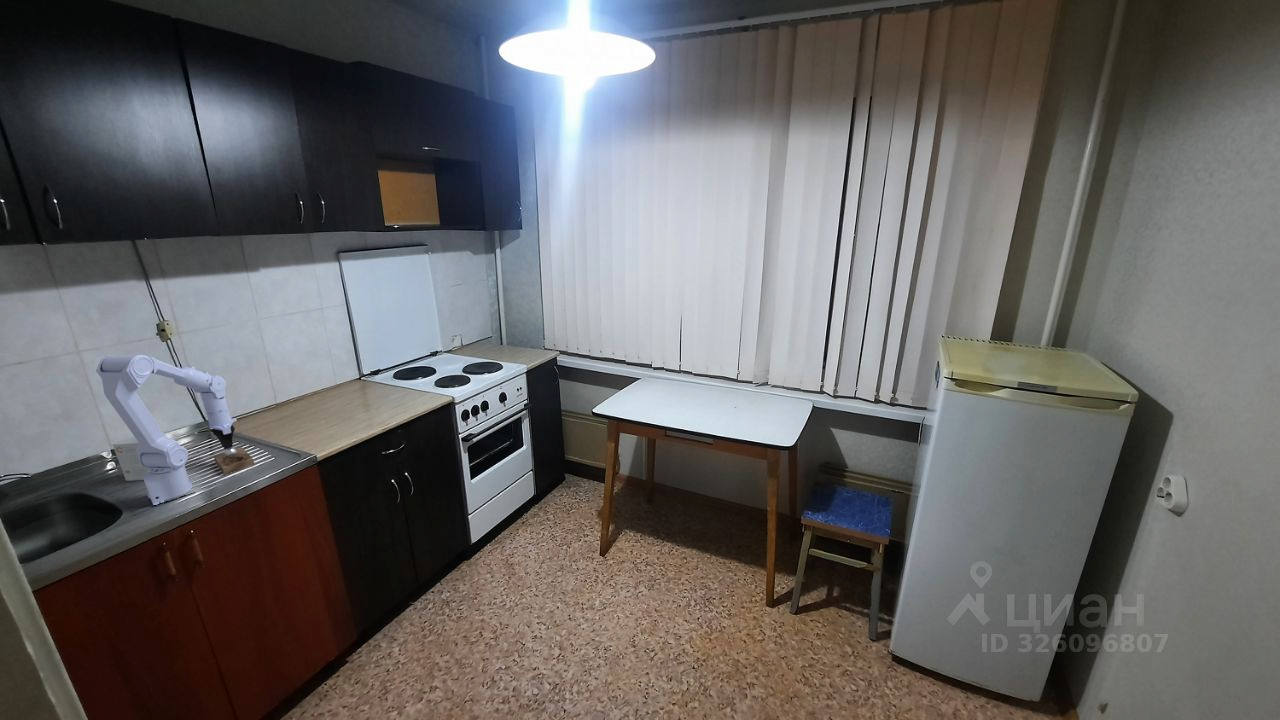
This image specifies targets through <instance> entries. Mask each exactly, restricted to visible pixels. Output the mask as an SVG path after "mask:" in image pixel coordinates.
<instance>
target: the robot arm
mask: <svg viewBox="0 0 1280 720" xmlns="http://www.w3.org/2000/svg"><path fill="white" fill-rule="evenodd" d="M95 372H96V374H98V376H99V377H100V379H101V382H102V388H103V394H104V396H105V398H106V399H107V401H109V403H110V404H111V406H112V407H113V408H114V410H115V411H116V413H117V415H118V416H119V417H120V418H121V420H122V421H123V422H124V424H125V425H126V427H127V428H128V429H129V431H130V432H131V434H132V436H135V438H136V439H137V441H138V442H139V443H140V445H139V446H138V448H137V449H136V452H137V454H138V456H139V462H140V464H141V465H142V466H143V467H147V468H148V471H151V472H149V473H147V474H144V475H142V477H143V480H142V481H143V482H144V484H145V487H146V489H147V492H146V495H147V498H148V499H150V501H151V503H152V506H153V505H157V504H159V502H161V503H162V502H164V500H166V499H169V498H172V497H176V496H178V495H181V494H183V493H186V492H187V491H189V490H191V488H192V487H194V485H193V483H192V482H191V481H190V478H189V475H188V472H187V469H186V466H185V465H186V464H187V461H188V458H189V451H188V449H187V448H186V447H184V446H182V445H181V444H179V442H178V441H177V440H175V439H173V438H171V437H168V436H167V435H165V433H164V432H163V430H162V429H161V427H160V426H159V424H158V423H157V421H156V420H155V418H154V417H153V415H152V414H151V412H150V411H149V409H148V408H147V407H146V405H145V403H144V402H143V401H142V399H141V398H140V396H139V395H138V393H137V391H138V389H140V388H141V386H142V385H143V384H144V383H145V382H146V381H147V379H148V378H149V377H150V375H151V374H154V375H158V376H162V377H164V378H165V377H166V378H169V379H173V382H174V384H176V385H178V386H181V387H182V386H183V387H186V388H188V389H192V390H193V391H194V392H195V393H199V394H200V397H201V398H200V399H201V400H202V404H203V407H204V411H205V415H206V417H207V421H208V423H209V424H208V426H209V429H211V430H210V432H211V433H212V434H213V435H214V436H216V438H217V439H218V441H219V442H220V444H221V446H222V448H223V449H224V450H226V449H228V448H233V437H234V436H233V435H234V432H235V429H236V428H235V427H234V425H233V423H235V422H237V418H235V417H233V418H232V416H231V413H230V409H229V406H228V403H227V399H226V387H227V380H225V379H224V378H223V377H222V376H220V375H217V374H216V375H214V374H213V375H212V374H210V373H209V372H208V371H200V370H199V369H196V367H195V366H191V365H190V366H188V365H187V366H183V367H181V368H179V367H177V366H174V365H172V364H169V363H167V362H164V361H162V360H159V359H156V357H154V356H148V355H145V354H135V355H133V354H132V355H128V354H127V355H124V354H122V355H120V354H117V355H116V354H108V355H105V356H103V358H102V359H100V361H99V363H98V366H97V367H96V370H95ZM157 506H158V505H157Z"/></svg>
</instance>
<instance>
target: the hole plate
mask: <svg viewBox="0 0 1280 720" xmlns="http://www.w3.org/2000/svg"><path fill="white" fill-rule="evenodd" d="M235 449H236V450H237V454H236V455H235V456H234V457H227V456H226V455H225V452H222V453H219V454H215V455H213V459H214V462H215V464H216V466H217V467H218V468H219V470H220V471H221V472H222V473H223V475H224V476H227V475H230V474H232V473H231V472H234V471H237V472H239V471H238V470H240V471H242V470H241V469H243V470H245V469H244V468H246V467H248V466H251V465H254V464H255V461H254V458H253V457H252V456H251V455H250V454H249V453H248V451H247V450H246V449H244V447H242V446H241V447H239V448H235ZM246 469H247V468H246ZM229 473H230V474H229ZM234 473H235V472H234ZM226 474H227V475H226Z"/></svg>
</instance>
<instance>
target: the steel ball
mask: <svg viewBox="0 0 1280 720" xmlns="http://www.w3.org/2000/svg"><path fill="white" fill-rule="evenodd" d="M236 449H237V448H235V447H231V448H227V449H225V450H224V453H225V455H226V456H227V457H234V456H235V455H236V454H237V450H236Z"/></svg>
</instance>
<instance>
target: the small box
mask: <svg viewBox="0 0 1280 720" xmlns="http://www.w3.org/2000/svg"><path fill="white" fill-rule="evenodd" d="M139 445H140V443H139V442H138V441H137V439H136V438H135V436H134V435H129V436H126V437H125V438H122V439H120V440H119V441H116V442H114V443H113V444H112V445H111V446H112V447H113V449H114V452H115V455H116V458H117V461H118V462H119V465H120V466H119V467H120V468H121V471H122V473H123V476H124V479H125V481H126V482H130V481H144V480H143V477H142V475H144V474H147V473H149V472H151V471H148V468H147V467H143V466H142V465H141V464H140V462H139V456H138V454H137V452H136V449H137V448H138V446H139Z"/></svg>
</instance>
